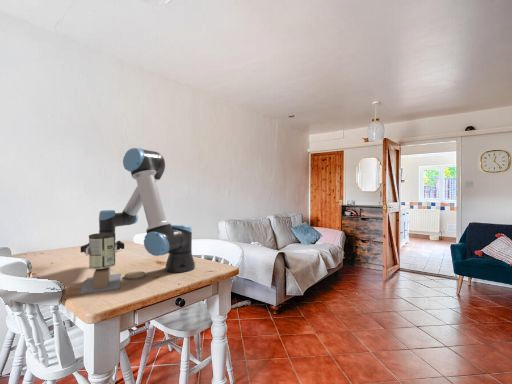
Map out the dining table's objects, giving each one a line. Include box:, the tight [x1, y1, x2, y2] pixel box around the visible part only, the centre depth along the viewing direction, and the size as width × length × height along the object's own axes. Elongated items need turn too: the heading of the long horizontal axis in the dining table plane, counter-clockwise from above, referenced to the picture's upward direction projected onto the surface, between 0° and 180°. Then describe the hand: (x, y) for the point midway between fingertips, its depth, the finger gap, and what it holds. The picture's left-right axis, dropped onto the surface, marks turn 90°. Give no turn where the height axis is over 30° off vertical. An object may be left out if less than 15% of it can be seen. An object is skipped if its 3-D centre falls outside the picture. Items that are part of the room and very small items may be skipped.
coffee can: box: [88, 232, 116, 270], centre depth 119 cm, size 10×10×14 cm
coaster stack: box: [124, 270, 147, 281], centre depth 129 cm, size 9×9×2 cm
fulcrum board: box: [79, 267, 122, 295], centre depth 119 cm, size 20×14×7 cm
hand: (101, 251), depth 115 cm, fingers closed on coffee can, 10 cm apart
